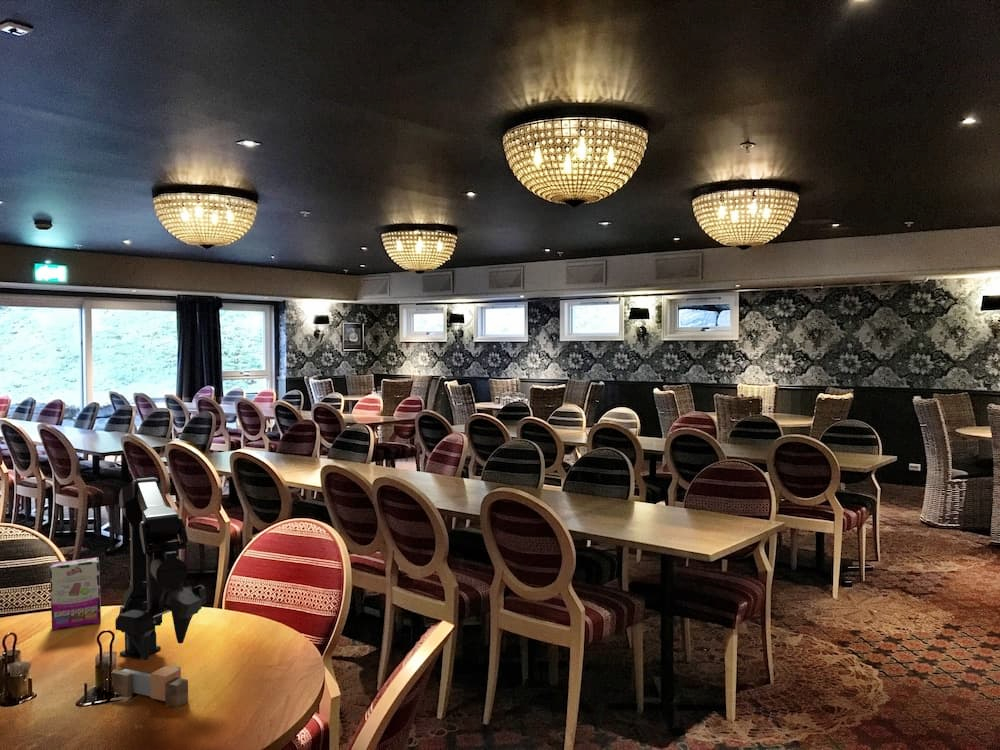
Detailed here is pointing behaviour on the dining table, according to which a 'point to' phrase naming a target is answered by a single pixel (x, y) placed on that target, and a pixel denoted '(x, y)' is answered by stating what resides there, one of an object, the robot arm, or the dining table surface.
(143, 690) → the grey l-shaped bracket
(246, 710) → the dining table surface
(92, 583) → the candy bar box
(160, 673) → the tan rectangular block
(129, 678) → the grey-brown blocks
